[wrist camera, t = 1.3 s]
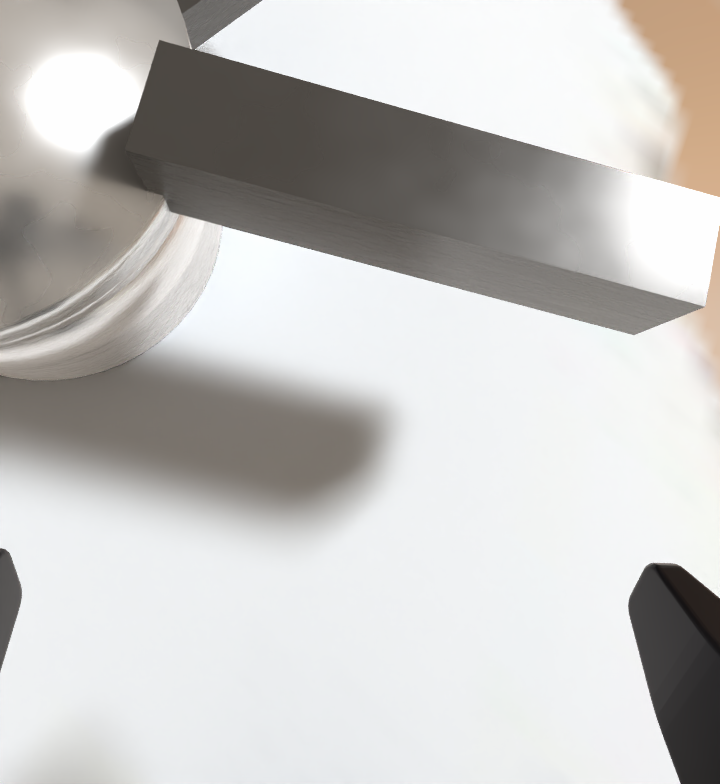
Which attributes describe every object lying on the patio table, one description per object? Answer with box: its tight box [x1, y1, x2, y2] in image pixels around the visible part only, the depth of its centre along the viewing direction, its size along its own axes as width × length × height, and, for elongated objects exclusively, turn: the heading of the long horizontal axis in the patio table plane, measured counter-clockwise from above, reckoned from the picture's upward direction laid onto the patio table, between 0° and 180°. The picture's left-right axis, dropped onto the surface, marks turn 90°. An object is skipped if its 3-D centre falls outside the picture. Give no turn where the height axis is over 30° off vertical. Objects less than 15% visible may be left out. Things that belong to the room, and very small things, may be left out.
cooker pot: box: [0, 0, 262, 380], centre depth 20 cm, size 22×13×7 cm, turn 131°
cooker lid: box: [0, 0, 720, 344], centre depth 15 cm, size 26×13×3 cm, turn 76°
